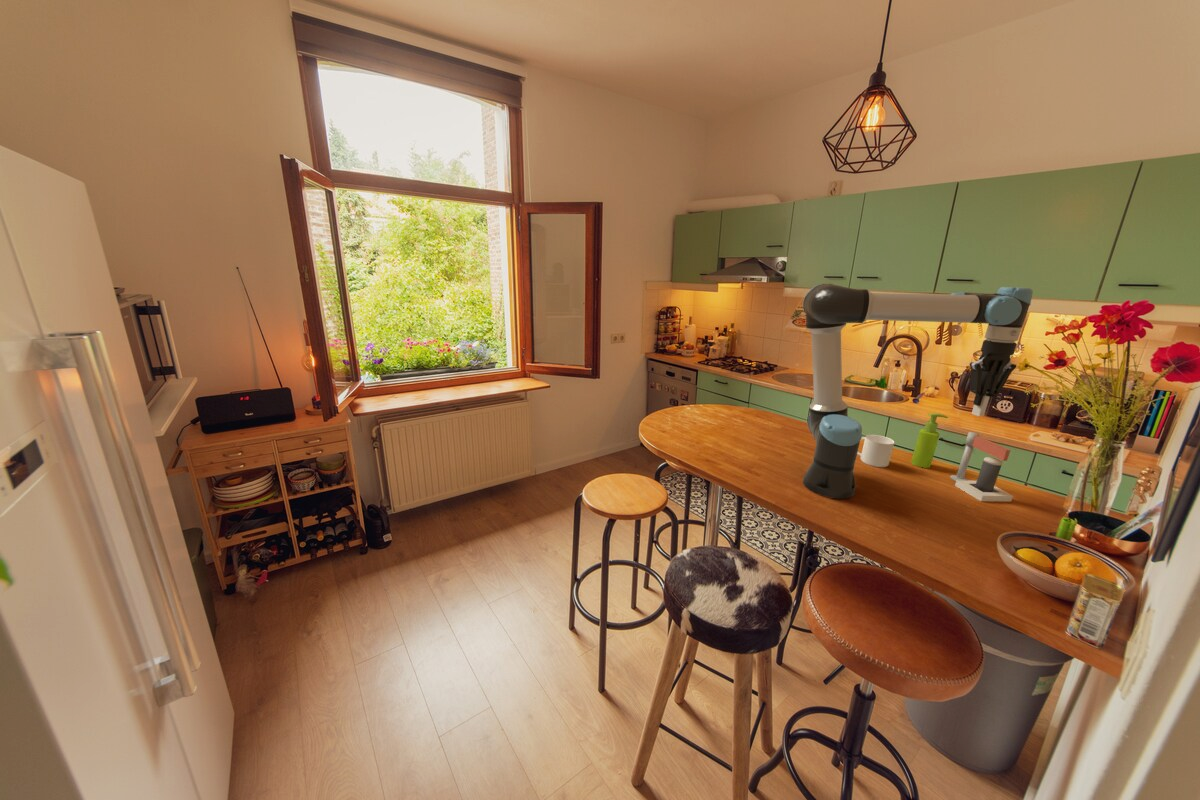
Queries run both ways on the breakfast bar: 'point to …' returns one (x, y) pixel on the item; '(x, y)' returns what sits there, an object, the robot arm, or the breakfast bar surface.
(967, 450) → the socket
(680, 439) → the breakfast bar surface
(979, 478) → the dark grey cylinder
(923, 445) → the soap dispenser
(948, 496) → the breakfast bar surface
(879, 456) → the mug
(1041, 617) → the breakfast bar surface
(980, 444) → the clip
